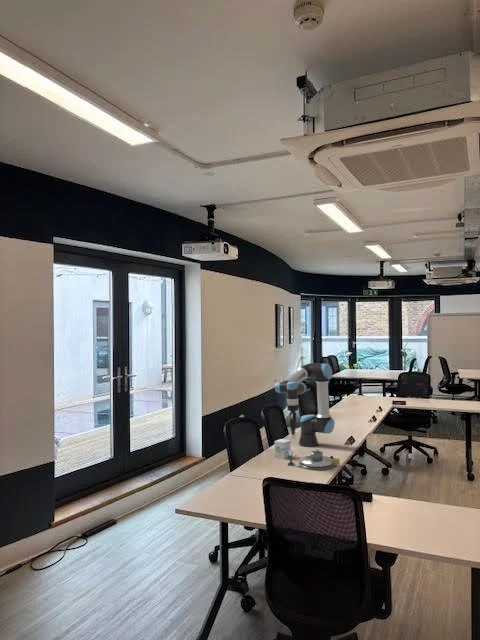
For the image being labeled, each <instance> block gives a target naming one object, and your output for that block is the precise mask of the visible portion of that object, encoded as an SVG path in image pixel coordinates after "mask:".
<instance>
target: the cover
mask: <svg viewBox="0 0 480 640" xmlns="http://www.w3.org/2000/svg"><path fill="white" fill-rule="evenodd" d="M310 456H311V461H316V462H319V461H323V456H324V453H323V451H321V450H319V449H314V450H312V451H310Z"/></svg>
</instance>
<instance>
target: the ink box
mask: <svg viewBox="0 0 480 640" xmlns="http://www.w3.org/2000/svg"><path fill="white" fill-rule="evenodd" d="M290 450H291V440H290V439H284V438H280V439H277V440H274V458H279V459H283V460H285V459H287V458H290V456H289V455H288V452H289V451H290ZM291 451H292V450H291Z"/></svg>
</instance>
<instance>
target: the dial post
mask: <svg viewBox="0 0 480 640" xmlns="http://www.w3.org/2000/svg"><path fill="white" fill-rule="evenodd" d="M288 455H289V456H290V457H289V462H288V463H287V466H289V467H290V466H291V467H292V466H293V467H294V466H295V462H293V457H298V454H294V451H293V450H290V451H289V452H288Z"/></svg>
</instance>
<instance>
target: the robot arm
mask: <svg viewBox="0 0 480 640" xmlns="http://www.w3.org/2000/svg"><path fill="white" fill-rule="evenodd" d="M332 378H333V369H332V366H331V365H330V364H329V363H323V362H322V363H321V362H319V363H317V362H315V363H313V362H311V363H309V362H308V363H306V364H304V365H301V366H299V368H297V370H296V371H295V372H294V373H292V374H291V375H289V377H287V378H286V379H284V380H282V381H279V382H278V381H277V382H276V383H275V385H274V390H275V392H276V393H280V394H286V396H287V397H286V404H287V406H286V407H287V411H289V412H290V413H289V420H290V421H289V423H290V428H289V430H291V432H290V435H291V436H290V437H291V440H296V437H297V435H296V430H297V411H299V395H303V394H304V393H306V391H307V385H306V384H305V383H303V382H301V381H302V380H303V381H304V380H306V379H314V383H316V397H317V398H316V399H317V400H316V402H317V414H306V415H305V414H303V415H302V416H301V417H300V437H299V440H298V445H299V446H302V447H307V448H308V447H310V448H311V447H317V446H318V445H319V440H318V437H317V434H318V433H322V434H325V435H326V434H331V433H333V430H334V428H335V423H336V422H335V419H334V418H333V417H332V414H331V413H330V401H329V382H330V380H331V379H332ZM316 433H317V434H316Z"/></svg>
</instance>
